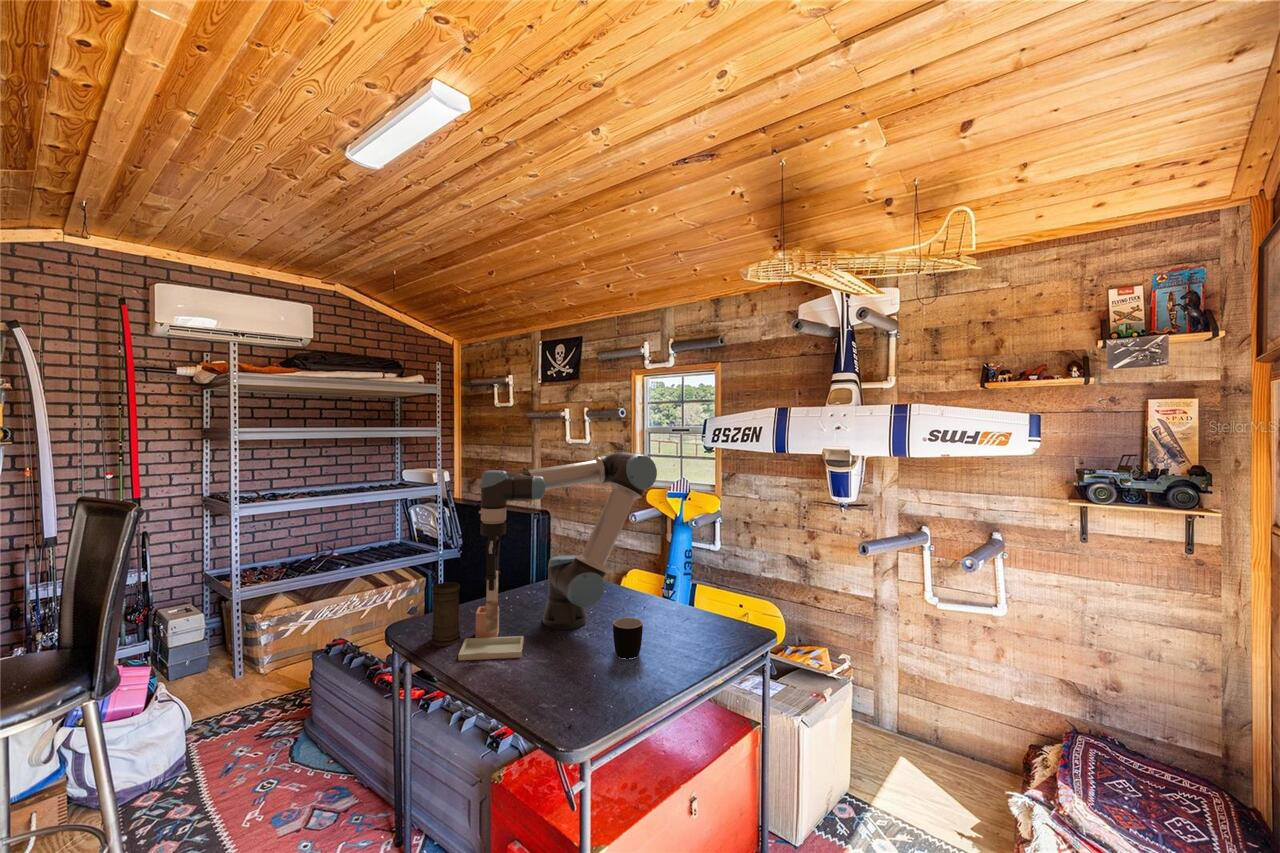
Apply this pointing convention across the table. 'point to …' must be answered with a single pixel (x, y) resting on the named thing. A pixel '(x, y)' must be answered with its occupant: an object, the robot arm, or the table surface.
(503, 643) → the tray
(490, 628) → the dowel
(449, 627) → the container
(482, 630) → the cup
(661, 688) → the table surface
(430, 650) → the table surface
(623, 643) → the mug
